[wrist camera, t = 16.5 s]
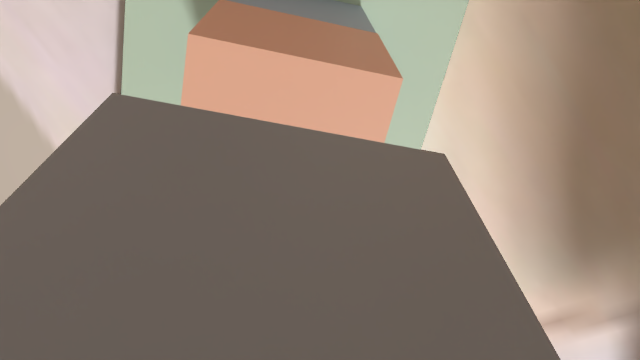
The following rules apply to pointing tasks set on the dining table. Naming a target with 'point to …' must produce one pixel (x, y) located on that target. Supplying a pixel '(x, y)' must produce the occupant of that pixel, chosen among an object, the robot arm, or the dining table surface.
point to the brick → (290, 71)
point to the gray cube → (249, 248)
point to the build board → (378, 3)
